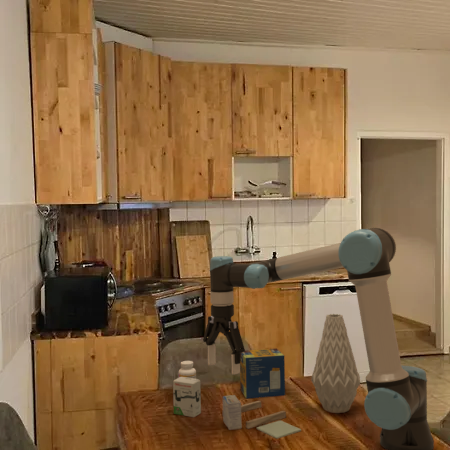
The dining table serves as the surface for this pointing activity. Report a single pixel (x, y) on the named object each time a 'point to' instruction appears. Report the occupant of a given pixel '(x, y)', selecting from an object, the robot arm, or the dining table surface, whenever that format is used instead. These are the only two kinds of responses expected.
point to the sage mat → (278, 429)
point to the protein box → (262, 373)
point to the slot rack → (262, 419)
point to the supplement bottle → (187, 370)
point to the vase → (335, 367)
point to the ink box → (187, 396)
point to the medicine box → (232, 412)
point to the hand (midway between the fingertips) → (223, 369)
